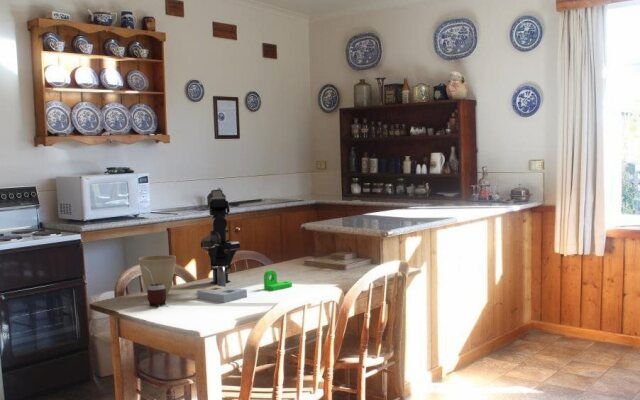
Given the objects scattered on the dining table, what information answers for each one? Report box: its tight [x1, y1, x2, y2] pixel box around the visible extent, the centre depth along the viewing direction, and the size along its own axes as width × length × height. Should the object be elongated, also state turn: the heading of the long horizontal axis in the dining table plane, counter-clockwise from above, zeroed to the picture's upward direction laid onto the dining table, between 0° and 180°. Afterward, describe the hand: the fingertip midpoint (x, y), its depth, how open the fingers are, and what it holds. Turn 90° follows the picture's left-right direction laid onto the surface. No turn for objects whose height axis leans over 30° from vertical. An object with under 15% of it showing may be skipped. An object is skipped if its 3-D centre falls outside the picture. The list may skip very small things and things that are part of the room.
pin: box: [216, 266, 227, 287], centre depth 277 cm, size 3×3×10 cm
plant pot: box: [138, 254, 177, 297], centre depth 270 cm, size 15×15×16 cm
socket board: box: [196, 285, 248, 304], centre depth 262 cm, size 16×12×3 cm
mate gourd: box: [144, 266, 167, 308], centre depth 252 cm, size 8×8×15 cm
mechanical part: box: [263, 269, 293, 292], centre depth 279 cm, size 12×6×8 cm, turn 134°
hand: (220, 264), depth 277 cm, fingers open, 9 cm apart
